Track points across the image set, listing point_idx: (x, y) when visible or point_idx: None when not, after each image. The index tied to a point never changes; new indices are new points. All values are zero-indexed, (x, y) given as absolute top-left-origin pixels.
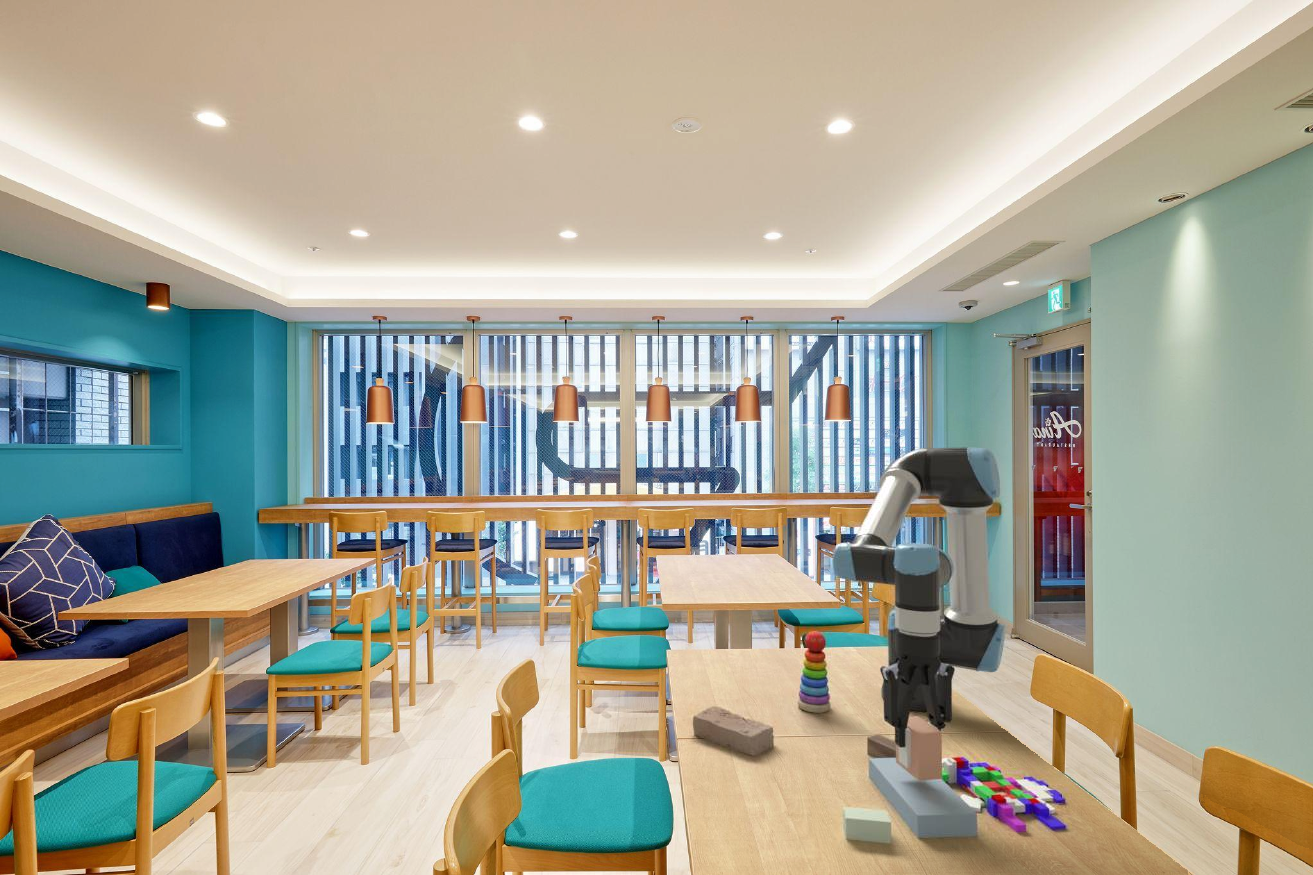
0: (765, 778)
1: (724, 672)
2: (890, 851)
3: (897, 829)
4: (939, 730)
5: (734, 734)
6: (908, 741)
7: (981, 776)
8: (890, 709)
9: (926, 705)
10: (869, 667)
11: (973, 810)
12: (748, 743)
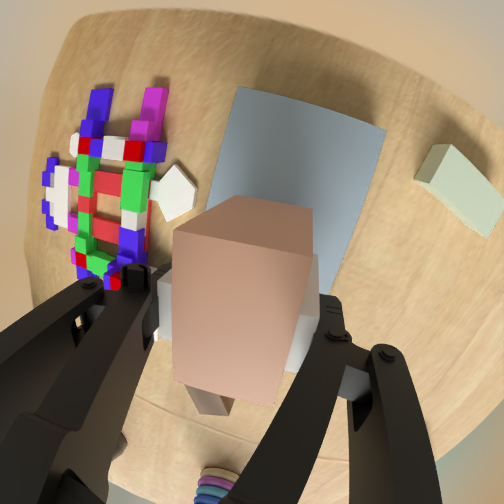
0: (447, 386)
1: None
2: (448, 127)
3: (391, 174)
4: (174, 245)
5: None
6: (313, 291)
7: (102, 254)
8: (418, 415)
9: (134, 384)
10: (112, 468)
11: (235, 98)
12: None
